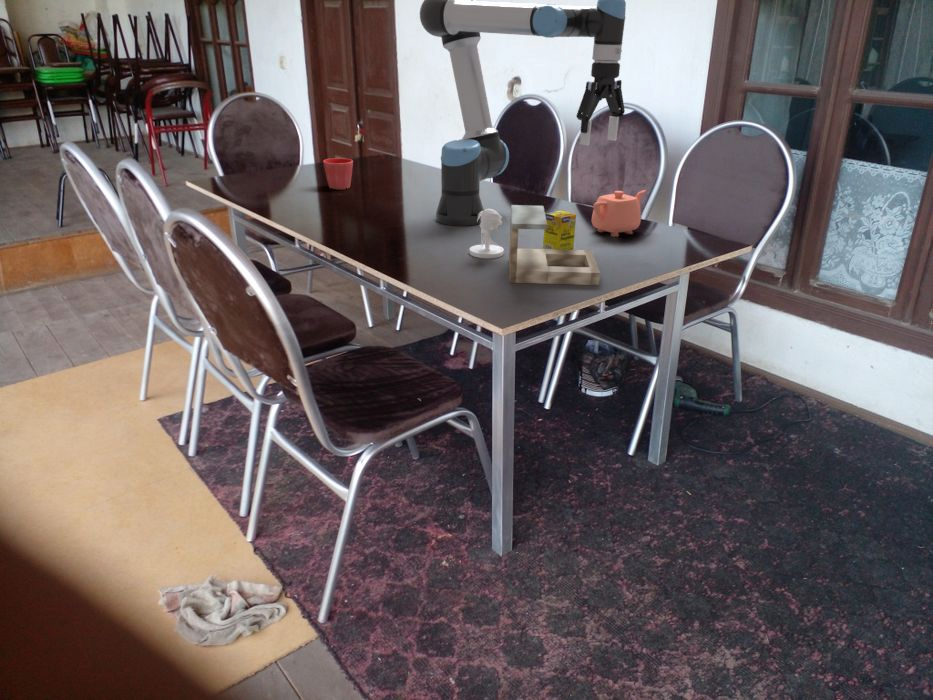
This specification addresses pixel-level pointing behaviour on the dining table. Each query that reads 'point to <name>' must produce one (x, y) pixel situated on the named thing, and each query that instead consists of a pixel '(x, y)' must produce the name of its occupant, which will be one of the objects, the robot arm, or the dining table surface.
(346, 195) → the dining table surface
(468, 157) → the robot arm
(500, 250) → the figurine
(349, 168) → the flower pot
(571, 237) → the supplement box
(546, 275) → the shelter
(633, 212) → the teapot
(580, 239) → the dining table surface
